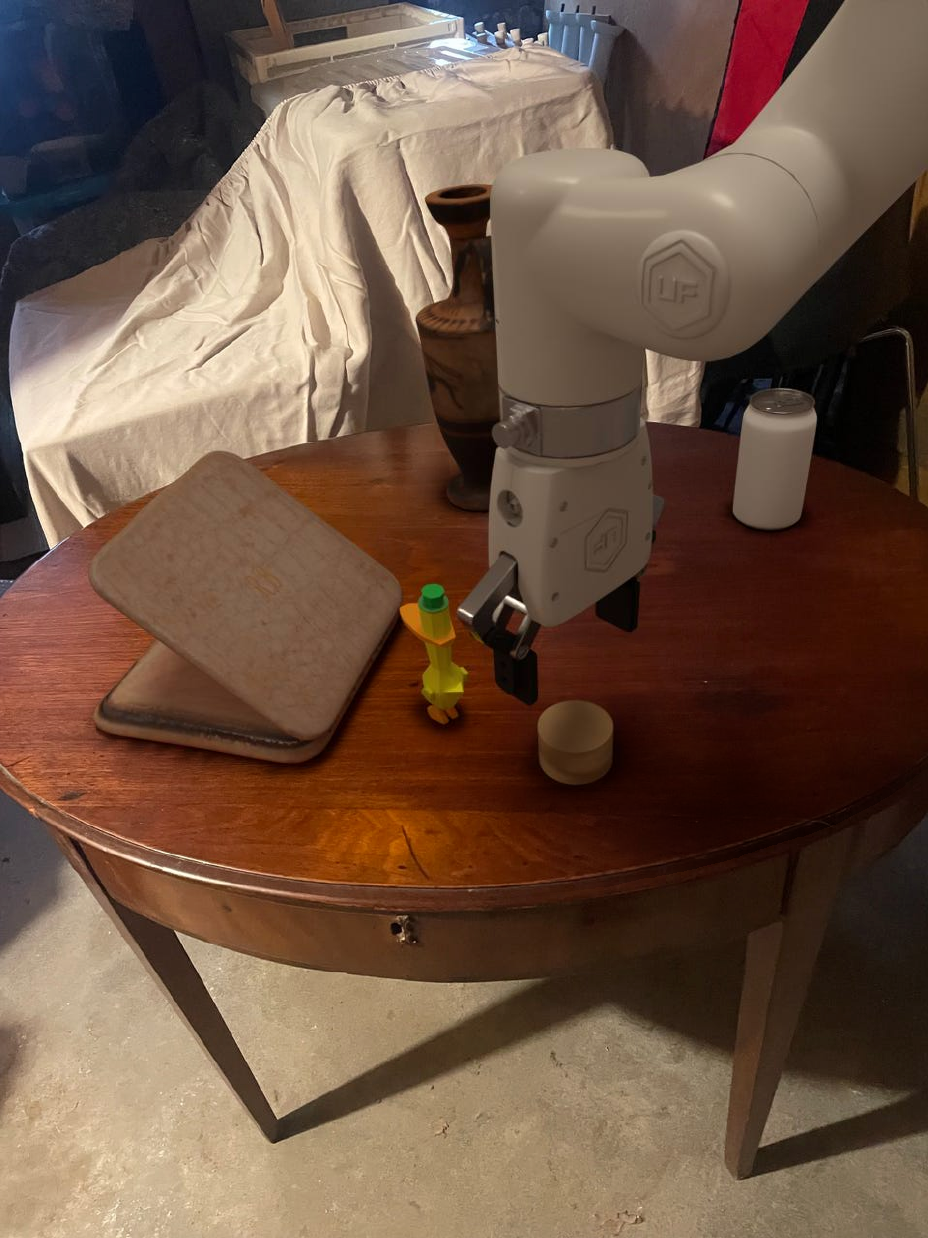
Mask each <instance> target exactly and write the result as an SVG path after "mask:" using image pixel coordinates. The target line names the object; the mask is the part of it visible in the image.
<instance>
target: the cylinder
mask: <svg viewBox="0 0 928 1238" xmlns="http://www.w3.org/2000/svg"><path fill="white" fill-rule="evenodd" d="M613 722H614V721H613V720H612V717H611V715H610V714H609V713H608V712H607V710H605V709H604V708H602V707H601V706H599V705H597V704H596V703H593V702H590V701H586V700H579V699H577V700H576V699H571V700H564V701H560V702H557V703H555V704H553V705H551V706H549V707H548V708H546V709H545V710H543V712H542V713H541V714H540V716H539V719H538V721H537V742H538V745H537V746H538V761H539V765H540V767H541V769H542V770H543V772H544V773H545V774H546V775H547V776H548V777H549V778H551V779H552V780H555V781H556V782H559V783H562V784H565V785H571V786H572V785H573V786H577V785H578V786H581V785H587V784H591V783H594V782H597V781H598V780H601V778H603V777H604V776H605V775H607V773H608V772H609V771H610V769H611V767H612V765H613V758H614V757H613V751H614V723H613Z"/></svg>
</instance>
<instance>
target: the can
mask: <svg viewBox="0 0 928 1238" xmlns="http://www.w3.org/2000/svg"><path fill="white" fill-rule="evenodd" d="M815 404H816V401H815V398H814V397H813V396H812V395H811V394H809V393H808V392H804V391H802V390H798V389H793V388H782V387H779V388H777V387H776V388H766V389H762V390H760V391H756V392H754V393H753V394H752V395H751V396H750V398H749V404H748V406H747V407H746V409H745V411H744V412H743V417H742V422H741V423H742V424H741V430H740V439H739V449H738V457H737V465H736V474H735V484H734V494H733V504H732V514H733V516H734V517H735V518H736V519H737V520H738V522H740V523H741V524H743V525H745V526H747V527H749V528H751V529H755V530H761V531H779V530H784V529H787V528H790V527H792V526H793V525H794V524H796V523H797V522H798V521H799V520H800V519H801V516H802V512H803V508H804V501H805V495H806V489H807V483H808V477H809V472H810V465H811V460H812V455H813V454H812V453H813V447H814V443H815V436H816V428H817V421H818V417H817V413H816V410H815V407H814V406H815Z"/></svg>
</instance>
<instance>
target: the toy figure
mask: <svg viewBox="0 0 928 1238" xmlns="http://www.w3.org/2000/svg"><path fill="white" fill-rule="evenodd" d="M420 591H421V596H420V597H419V598H418V600H417V602H416V603H413V602H412V603H411V602H410V603H409V602H408V603H406V604H405V605H401V606H400V608H399V614H400V616H401V620H402V622H403V623H404V625H405V627H406V628H407V629H408V630H409V631H410V632H411V633H412V634H413V635H414V636H415V637H416V638H418V639H419V640H420V641H422V642H423V643H424V645H425V648H426V653H427V655H428V658H429V662H430V664H429V666H428V667H427V668H426V669H425V671H424V672H423V673H422V674H421V678H422V685H423V688H421V694H422V695H423V697H424V698H425V699H426V701H428V702H429V703H430V704H431V705H429V706H428V707H427V708H426V710H427V713H428V715H429V717H430V718H431V719H432V720H434V721H435V722H437V723H440V724H442V725H446V724H447V723H448V722H450V721H449V718H451V719H452V720H454V719H457V718H459V713H458V711H457V709H456V707H455V706H456V705H457V703H458V702H459V701H460V699H461V698H462V696H463V695H464V694H465V692H466V691H465V683H469V672H468V671H467V670H466V669H465V668H464V666H461V667H460V666H459V665H458V664H456V663H455V662H454V661H452V646H453V644H454V642H455V641H456V639H457V636H456V633H455V629H454V626H453V623H452V619H451V613H450V605H449V603H450V602H449V598H448V596H446V595H445V589H444V587H443V585H440V584H437V583H430V584H425V586H423V588H422V589H420Z"/></svg>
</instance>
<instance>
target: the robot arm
mask: <svg viewBox="0 0 928 1238" xmlns="http://www.w3.org/2000/svg"><path fill="white" fill-rule="evenodd" d="M927 170H928V0H844V1H843V3H842V4H841V5H840V6H839V8H838V10H837V11H836V13H835V14H834V16H833V17H832V18H831V20H830V21H829V22H828V24H827V25H826V27H825V28H824V30H823V31H822V33H820V34H819V37H818V38H817V40H816V41H815V42H814V43H813V44H812V46H811V47H810V49H809V50H808V51H807V53H805V55H804V57H802V59H801V60H800V61H799V63H798V64H797V65H796V67H795V68H794V69H793V70H792V71H791V73H790V74H789V75H788V77H787V78H786V79H785V81H784V82H783V83H782V84H781V86H780V87H779V88H778V90H776V92H775V93H774V94H773V96H771V98H770V99H769V101H768V102H767V103H766V104H765V106H764V107H763V108H762V109H761V111H760V112H759V113H758V114H757V115H756V117H755V118H754V119H753V120H752V121H751V123H750V124H749V125H748V126H747V128H746V129H745V130H744V131H743V132H742V134H741V135H740V136H739V137H738V138H737V139H736V140H735V141H734V142H733V143H732V144H729V145H728V146H726V147H725V148H723V149H721V150H718V152H716V153H714V154H712V155H710V156H708V157H706V158H704V159H703V160H702V161H700V162H697V163H694V164H692V165H689V166H686V167H683V168H681V169H678V170H676V171H671V172H669V173H667V174H663V175H656V176H651V175H650V172H649V170H648V169H647V167H646V165H645V163H644V162H642V160H641V159H639V158H638V157H637V156H635V155H633V154H631V153H628V152H625V151H621V150H618V149H613V148H612V149H611V148H600V147H573V148H559V149H551V150H544V151H539V152H533V153H529V154H525V155H522V156H520V157H517V158H515V159H514V160H513V159H512V160H511V161H509V162H508V163H506V164H505V165H504V166H503V167H501V169H500V170H499V171H498V173H496V176H495V178H494V179H493V182H492V184H491V185H492V190H491V196H490V220H489V221H490V235H491V243H492V264H493V285H494V306H495V327H496V347H497V367H498V390H499V411H500V422H499V423H497V424H495V425H494V426H493V429H492V436H493V439H494V441H495V443H496V444H497V445H498V446H499V447H498V448H497V449H496V454H495V460H494V467H493V474H492V483H491V493H490V506H489V510H488V543H487V544H488V571H487V572H486V573H485V574H484V576H483V577H481V579H480V580H479V582H478V583H477V584H476V585H475V587H474V588H473V589H472V591H471V592H469V594H468V595H467V596H466V598H465V599H464V600H463V602H462V603H461V604H460V605H459V606H458V608H457V610H456V618H457V619H458V620H459V622H460V623H461V625H463V627H464V628H465V629H466V631H467V632H468V633H469V636H470V637H472V638H473V639H474V640H476V641H478V642H480V643H481V644H483V645H485V646H487V647H488V648H490V649H492V651H493V655H492V656H493V669H494V681H495V684H496V685H497V687H498V688H499V689H500V690H501V691H502V692H504V693H506V695H509V696H512V697H514V698H516V699H517V700H518V701H520V702H522V703H523V704H525V705H526V706H528V707H531V706H533V705H534V704H536V703H537V702H538V699H539V670H538V669H539V668H538V667H539V665H538V664H539V663H538V654H537V653H536V652H535V650H533V649H531V648H532V646H533V644H534V642H535V639H536V637H537V636H538V633H539V631H540V629H541V627H542V626H543V627H545V628H552V627H553V628H554V627H556V626H560V625H562V624H564V623H566V622H567V621H569V620H571V619H573V618H574V617H576V616H578V615H579V614H580V613H582V612H584V611H586V610H587V609H588V608H589V607H591V606H593V605H595V606H594V607H595V608H594V609H595V610H594V611H595V612H594V613H595V616H596V617H597V618H598V619H600V620H602V621H604V622H606V623H608V624H610V625H612V626H614V627H615V628H617V629H619V630H621V631H623V632H626V633H632V632H634V631H635V630H637V628H638V625H639V609H640V594H641V581H638V580H640V579H642V578H643V577H644V576H645V574H646V573H647V571H648V562H649V560H650V557H651V552H652V546H653V544H654V543H655V542H656V539H657V530H656V529H655V528H656V527H657V526H658V523H659V521H660V518H661V516H662V513H663V510H664V508H665V503H666V500H665V498H664V497H662V496H660V495H657V494H654V482H653V481H654V479H653V464H652V453H651V446H650V438H649V434H648V429H647V423H646V421H645V419H644V418H643V417H642V416H641V412H642V411H641V410H642V393H643V371H644V358H645V357H644V355H645V350H648V351H650V352H653V353H656V354H658V355H663V356H665V357H669V358H673V359H677V360H683V361H687V362H688V361H689V362H704V363H705V362H714V361H720V360H725V359H728V358H731V357H733V356H736V355H738V354H741V353H743V352H744V351H747V350H748V349H750V348H751V347H752V346H754V345H755V344H757V343H758V342H759V341H761V340H762V339H763V338H764V337H765V336H766V335H767V334H768V333H769V332H770V331H772V329H773V328H774V327H775V326H776V325H777V324H778V323H779V322H780V321H781V320H783V318H784V316H786V314H787V313H788V312H789V311H790V310H791V309H792V308H793V307H794V306H795V305H796V304H797V302H799V301H800V299H801V298H802V297H803V296H804V295H805V294H806V293H807V292H808V291H809V290H810V289H811V287H812V286H814V284H815V283H817V282H818V281H819V280H820V279H821V278H822V277H824V275H825V274H826V273H827V272H828V271H829V270H830V269H831V268H832V267H833V265H835V264H836V263H837V261H838V260H839V259H841V257H842V256H843V255H844V254H845V253H846V252H847V251H848V250H849V249H850V248H851V247H852V246H853V245H854V244H855V243H856V242H857V241H858V240H859V239H860V238H861V237H862V236H863V235H864V234H865V232H867V230H868V229H869V228H871V227H872V225H873V224H874V223H876V221H877V220H878V219H879V218H881V216H883V214H885V212H886V211H888V209H889V208H890V207H891V206H892V205H893V204H894V203H895V202H897V200H898V199H899V198H900V197H901V196H902V195H904V194H905V193H906V191H907V190H908V189H910V187H911V186H912V185H913V184H914V183H915V182H916V181H917V180H918V179H919V178H920V177H922V175H924V173H926V171H927ZM519 596H520V597H521V598H520V597H519ZM515 611H517V612H519V613H521V614H523V615H524V617H523V619H522V620H521V621H522V622H521V623H520V625H519V628H518V630H517V632H516V633H514V632H513V631H510V630H509V629H507V627H508V624H509V623H510V620H511V618H512V616H513V614H514V612H515Z"/></svg>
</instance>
